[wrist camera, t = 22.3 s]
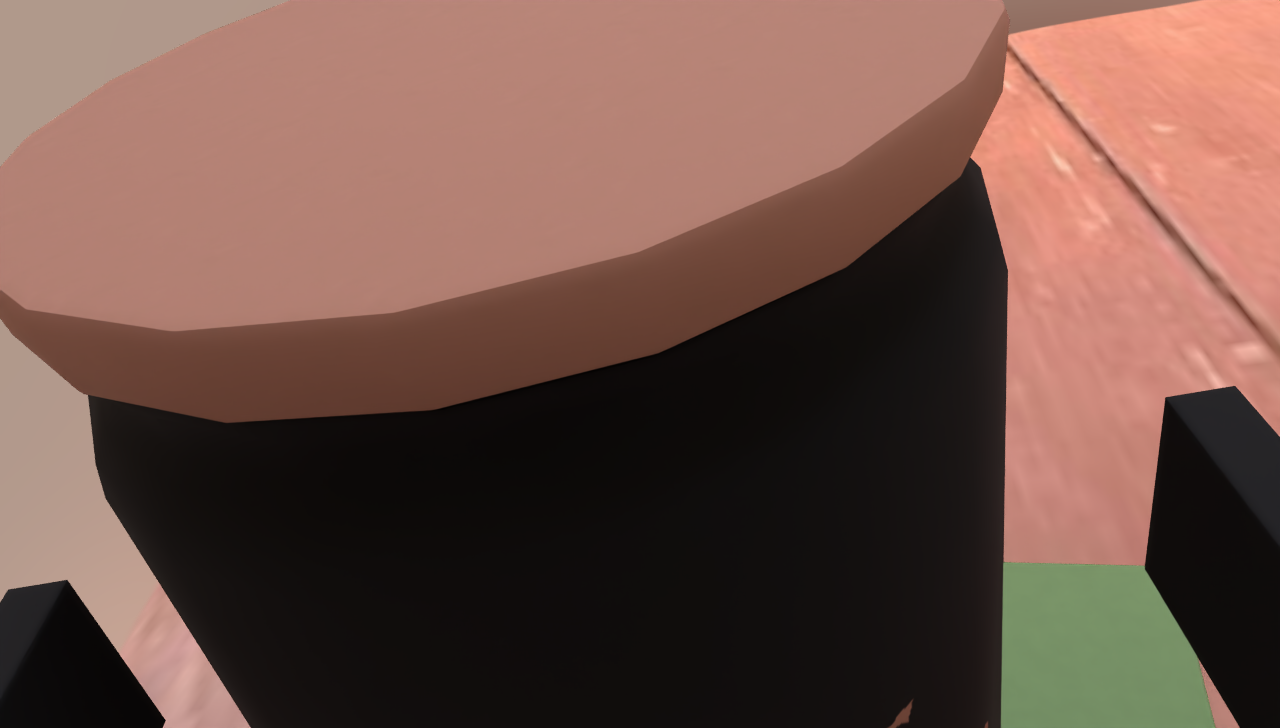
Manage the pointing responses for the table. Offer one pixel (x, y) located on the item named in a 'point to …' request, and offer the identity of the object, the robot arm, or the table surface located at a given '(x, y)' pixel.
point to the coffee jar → (547, 356)
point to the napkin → (1094, 651)
